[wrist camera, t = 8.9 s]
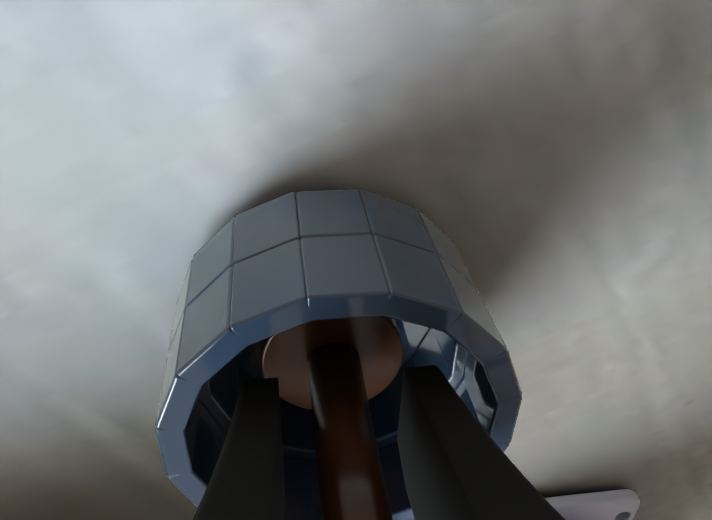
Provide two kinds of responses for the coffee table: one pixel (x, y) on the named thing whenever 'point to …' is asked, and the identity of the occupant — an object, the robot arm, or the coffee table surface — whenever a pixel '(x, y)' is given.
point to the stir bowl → (321, 302)
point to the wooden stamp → (340, 403)
